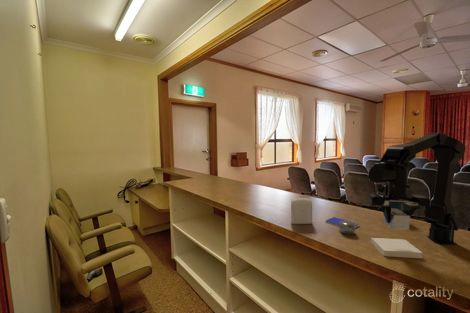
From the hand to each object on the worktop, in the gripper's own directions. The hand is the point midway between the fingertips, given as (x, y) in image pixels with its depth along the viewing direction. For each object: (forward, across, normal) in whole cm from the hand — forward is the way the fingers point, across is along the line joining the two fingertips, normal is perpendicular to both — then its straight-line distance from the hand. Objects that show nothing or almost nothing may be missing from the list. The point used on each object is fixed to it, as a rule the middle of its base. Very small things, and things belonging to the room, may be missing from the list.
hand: (395, 223), depth 80 cm
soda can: (+10, -16, -34) cm, 39 cm away
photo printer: (+10, +30, -23) cm, 39 cm away
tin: (+10, +12, -14) cm, 21 cm away
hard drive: (+11, +11, -24) cm, 28 cm away
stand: (+10, 0, 0) cm, 10 cm away
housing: (+1, 0, 0) cm, 1 cm away
